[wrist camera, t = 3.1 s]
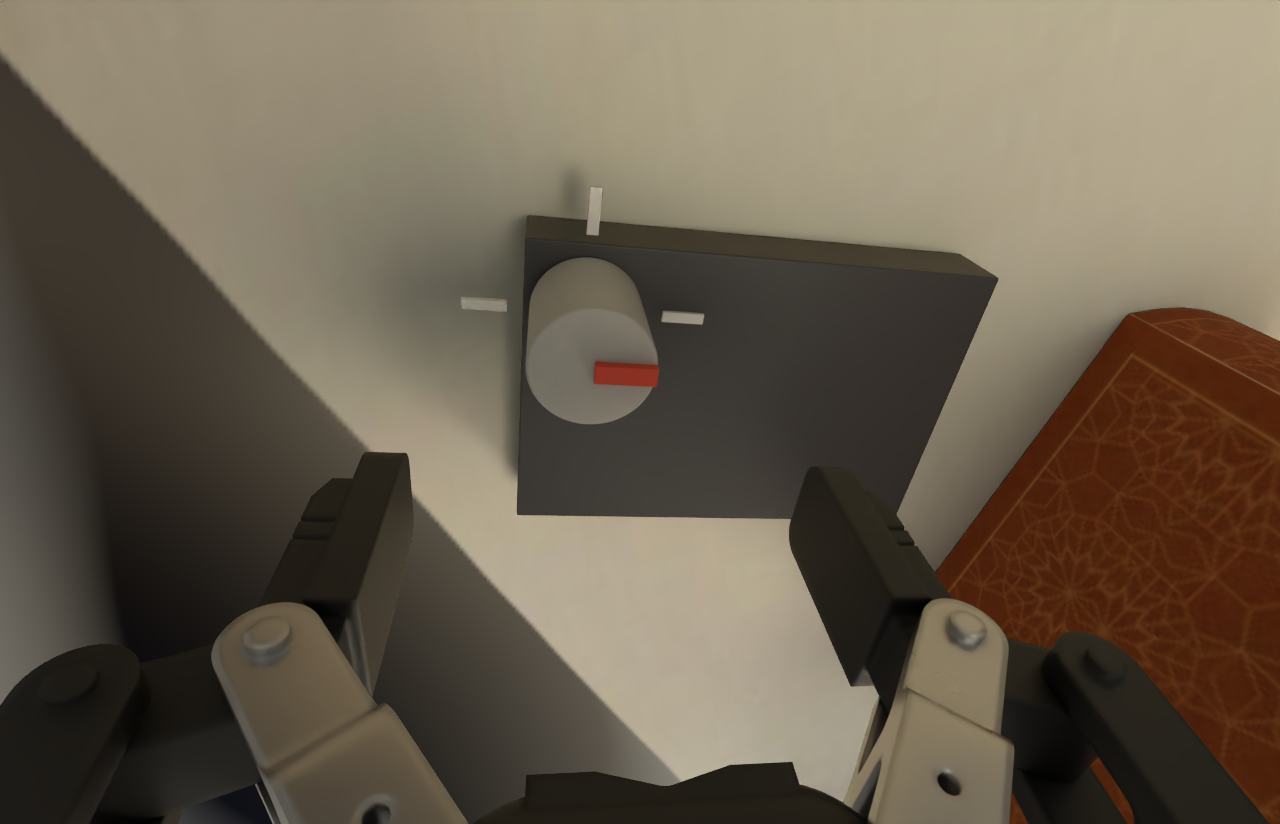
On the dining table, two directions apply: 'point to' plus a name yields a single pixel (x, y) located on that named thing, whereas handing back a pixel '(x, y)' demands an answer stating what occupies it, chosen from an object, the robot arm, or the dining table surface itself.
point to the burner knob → (589, 343)
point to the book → (1154, 532)
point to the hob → (751, 370)
